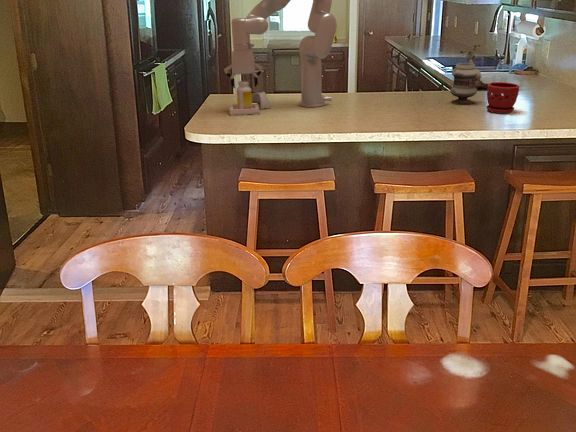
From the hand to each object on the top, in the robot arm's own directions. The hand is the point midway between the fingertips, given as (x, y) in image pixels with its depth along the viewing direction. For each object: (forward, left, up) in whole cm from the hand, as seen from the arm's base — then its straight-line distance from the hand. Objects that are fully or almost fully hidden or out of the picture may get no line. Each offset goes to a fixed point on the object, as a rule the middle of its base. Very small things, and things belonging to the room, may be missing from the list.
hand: (244, 86), depth 276 cm
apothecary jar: (-102, -5, -12) cm, 103 cm away
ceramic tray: (+1, 0, -11) cm, 11 cm away
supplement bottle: (0, 0, -11) cm, 11 cm away
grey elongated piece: (-6, -17, -12) cm, 22 cm away
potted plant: (-123, -46, -12) cm, 132 cm away
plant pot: (-111, +18, -12) cm, 113 cm away
